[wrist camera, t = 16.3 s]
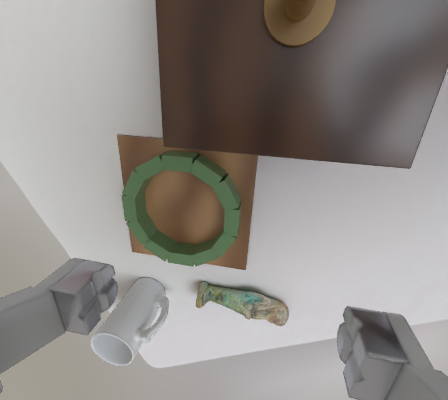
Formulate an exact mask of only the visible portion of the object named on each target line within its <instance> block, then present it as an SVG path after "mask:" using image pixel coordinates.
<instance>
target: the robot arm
mask: <svg viewBox="0 0 448 400" xmlns="http://www.w3.org/2000/svg"><path fill="white" fill-rule="evenodd" d="M114 274H115V271H114V267H113V266H112V265H110V264H105V263H100V262H95V261H90V260H84V259H79V258H73V259H70V260H69V261H67V262H66V263H65V264H64V265H63V266H61V267H60V268H58V269H57V270H56V271H55V272H53V273H52V274H51V275H50V276H48V277H47V278H46V279H44V280H43V281H42V282H41V283H39V284H38V285H37V286H35V287H28V288H25V289H23V290H20V291H17V292H15V293H12V294H9V295H7V296H4V297H2V298H0V374H1V373H3V372H4V371H6V370H7V369H9V368H10V367H12V366H14V365H15V364H17V363H18V362H20V361H21V360H23V359H24V358H26V357H28V356H29V355H31V354H32V353H34V352H35V351H37V350H39V349H40V348H42V347H43V346H45V345H46V344H48V343H50V342H51V341H53V340H54V339H56V338H57V337H59V336H60V335H62V334H64V333H65V331H69V332H73V333H79V334H83V335H88V334H89V333H90V332H91V330H92V329H93V328H94V327H95V326H96V324H97V323H98V322H99V321H100V319H101V313H102V312H104V311H106V310H108V309H109V308H110V307H111V305H112V304H113V303H114V301H115V298H116V296H117V291H118V286H117V282H116V281H115V280H114V279H113V276H114ZM343 317H344V321H345V322H344V323H342V324H340V326H339V329H338V334H337V346H338V352H339V357H340V359H341V360H342V361H343V362H344V363H345V364H346V366H345V369H344V371H343V374H344V378H345V382H346V387H347V391H348V395H349V397H350V398H354V399H357V400H448V377H447V376H446V375H445V374H444V373H442V372H441V371H438V370H434V368H433V366H432V364H431V363H430V361H429V359H428V357H427V356H426V354H425V352H424V350H423V349H422V347H421V345H420V343H419V342H418V340H417V338H416V337H415V335H414V333H413V331H412V330H411V328H410V326H409V324H408V322H407V321H406V319H405V318H404V317H403V316H402V315H399V314H393V313H387V312H380V311H374V310H368V309H362V308H356V307H350V306H347V307H346V308H345V310H344V313H343ZM2 391H3V385H2V383H1V381H0V394H1V393H2Z"/></svg>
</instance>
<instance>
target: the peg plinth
mask: <svg viewBox="0 0 448 400" xmlns="http://www.w3.org/2000/svg"><path fill="white" fill-rule="evenodd" d="M156 16H157V35H158V53H159V72H160V90H161V109H162V127H163V146H164V147H171V148H182V149H193V150H205V151H216V152H227V153H238V154H250V155H261V156H272V157H284V158H295V159H306V160H317V161H329V162H340V163H351V164H363V165H374V166H385V167H396V168H408V169H409V168H411V165H412V163H413V160H414V157H415V155H416V152H417V149H418V146H419V144H420V141H421V138H422V136H423V133H424V130H425V127H426V125H427V122H428V119H429V116H430V114H431V111H432V108H433V106H434V103H435V100H436V97H437V95H438V92H439V89H440V87H441V84H442V81H443V78H444V76H445V73H446V70H447V68H448V0H156Z"/></svg>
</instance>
